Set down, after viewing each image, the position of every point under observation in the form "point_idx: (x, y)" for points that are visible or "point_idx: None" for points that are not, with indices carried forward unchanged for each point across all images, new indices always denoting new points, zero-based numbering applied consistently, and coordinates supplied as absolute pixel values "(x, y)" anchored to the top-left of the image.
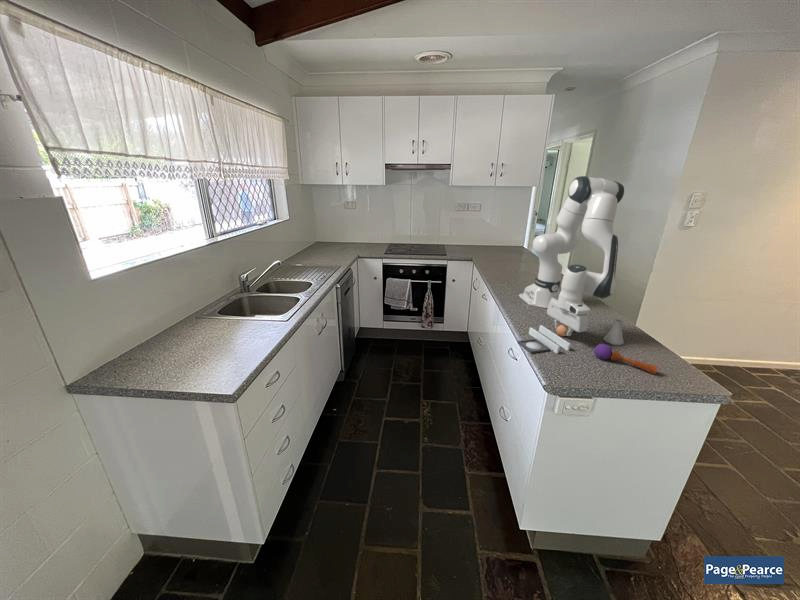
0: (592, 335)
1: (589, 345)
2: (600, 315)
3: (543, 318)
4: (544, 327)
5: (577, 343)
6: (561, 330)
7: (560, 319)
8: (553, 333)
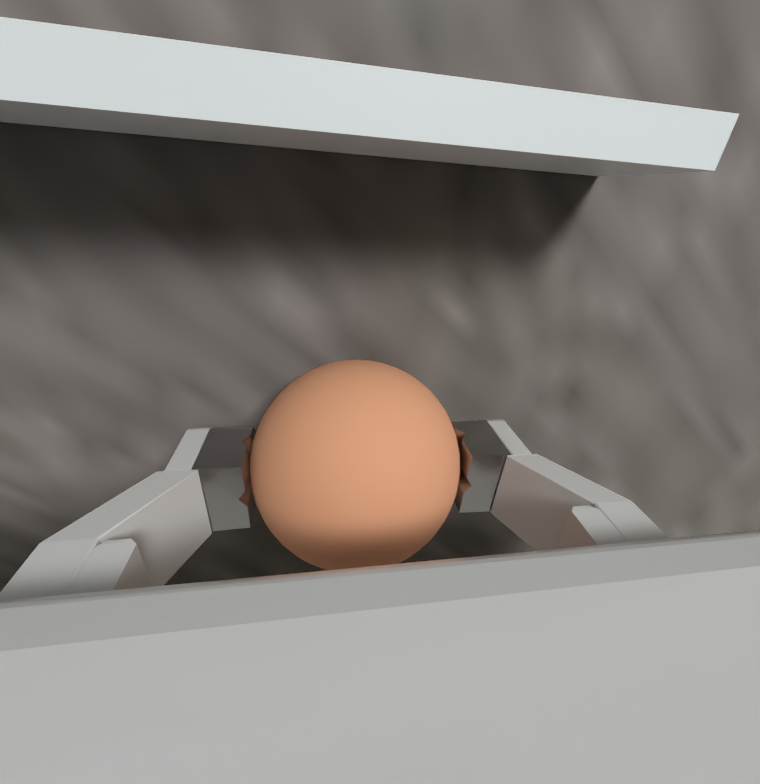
0: None
1: (32, 548)
2: None
3: (746, 484)
4: (596, 145)
5: (85, 457)
6: (300, 414)
7: (483, 648)
8: (203, 91)
